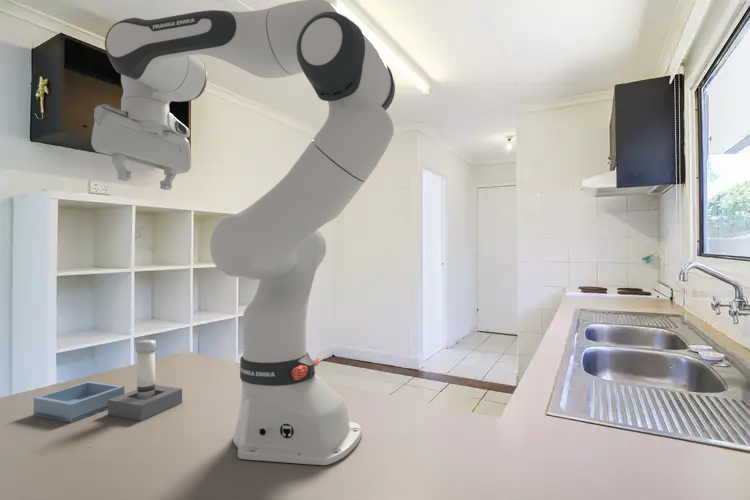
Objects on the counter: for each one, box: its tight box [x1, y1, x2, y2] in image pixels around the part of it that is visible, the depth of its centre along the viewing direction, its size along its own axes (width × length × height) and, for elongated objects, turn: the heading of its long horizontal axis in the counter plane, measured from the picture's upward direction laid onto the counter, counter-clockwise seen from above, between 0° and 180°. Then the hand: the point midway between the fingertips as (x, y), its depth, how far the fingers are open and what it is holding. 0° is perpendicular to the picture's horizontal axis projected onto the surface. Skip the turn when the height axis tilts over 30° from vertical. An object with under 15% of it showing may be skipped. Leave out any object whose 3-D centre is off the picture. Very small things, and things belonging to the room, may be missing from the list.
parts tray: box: [33, 380, 125, 424], centre depth 84 cm, size 11×11×4 cm
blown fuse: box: [135, 338, 157, 400], centre depth 84 cm, size 4×4×14 cm
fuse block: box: [107, 384, 183, 422], centre depth 84 cm, size 9×10×3 cm
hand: (146, 184), depth 83 cm, fingers open, 8 cm apart
